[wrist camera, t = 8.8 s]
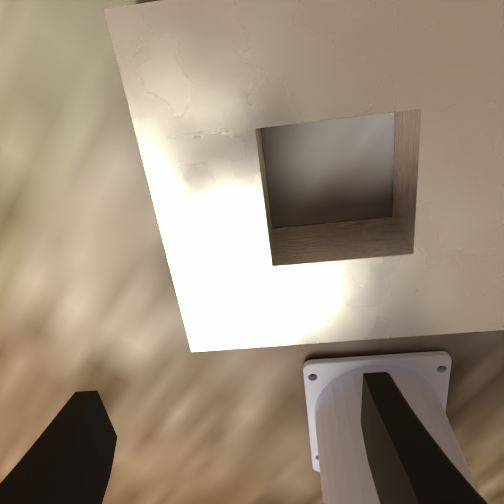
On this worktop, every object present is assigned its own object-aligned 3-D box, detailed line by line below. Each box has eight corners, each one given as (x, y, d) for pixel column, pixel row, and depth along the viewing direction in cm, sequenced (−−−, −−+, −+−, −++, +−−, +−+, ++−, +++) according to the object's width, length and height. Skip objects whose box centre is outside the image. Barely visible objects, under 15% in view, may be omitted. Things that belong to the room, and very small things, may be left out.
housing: (476, 284, 22) (509, 329, 19) (202, 306, 23) (191, 351, 20) (523, -51, 15) (585, -65, 12) (134, 8, 17) (103, 9, 14)
